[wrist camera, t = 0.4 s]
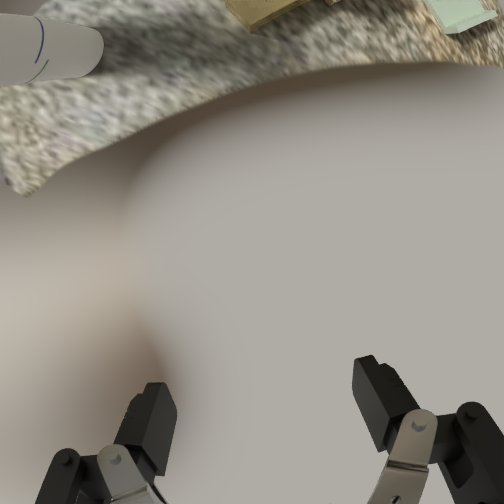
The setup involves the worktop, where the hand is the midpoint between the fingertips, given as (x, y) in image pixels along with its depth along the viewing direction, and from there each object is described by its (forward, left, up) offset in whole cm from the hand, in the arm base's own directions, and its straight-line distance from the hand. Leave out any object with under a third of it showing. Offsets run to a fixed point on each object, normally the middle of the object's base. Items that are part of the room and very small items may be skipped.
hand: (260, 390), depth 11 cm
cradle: (-6, +41, -28) cm, 50 cm away
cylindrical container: (-28, -5, -28) cm, 40 cm away
